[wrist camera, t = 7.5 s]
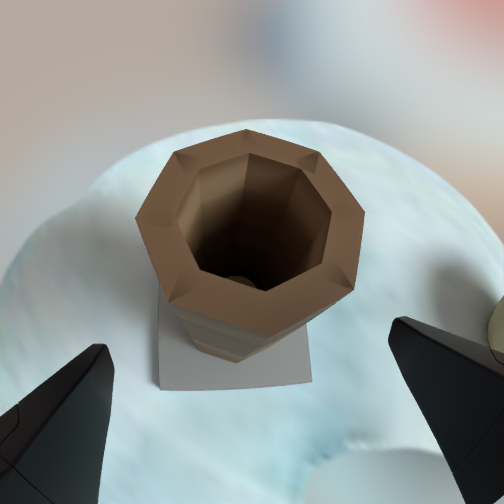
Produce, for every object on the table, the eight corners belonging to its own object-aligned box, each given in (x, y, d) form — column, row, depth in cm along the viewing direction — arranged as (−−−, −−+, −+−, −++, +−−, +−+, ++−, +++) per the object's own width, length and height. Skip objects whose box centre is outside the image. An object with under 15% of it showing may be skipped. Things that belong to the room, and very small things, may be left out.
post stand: (308, 381, 19) (337, 381, 14) (161, 389, 18) (143, 393, 13) (293, 249, 23) (313, 214, 18) (162, 252, 22) (148, 216, 17)
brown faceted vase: (292, 334, 20) (397, 261, 8) (212, 375, 18) (201, 371, 6) (251, 260, 22) (290, 118, 10) (173, 294, 20) (119, 172, 8)
